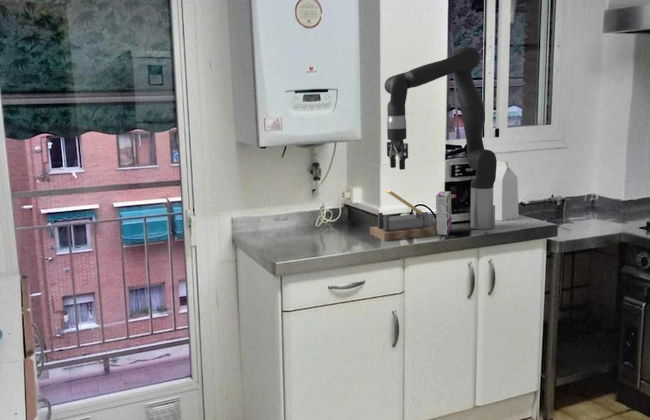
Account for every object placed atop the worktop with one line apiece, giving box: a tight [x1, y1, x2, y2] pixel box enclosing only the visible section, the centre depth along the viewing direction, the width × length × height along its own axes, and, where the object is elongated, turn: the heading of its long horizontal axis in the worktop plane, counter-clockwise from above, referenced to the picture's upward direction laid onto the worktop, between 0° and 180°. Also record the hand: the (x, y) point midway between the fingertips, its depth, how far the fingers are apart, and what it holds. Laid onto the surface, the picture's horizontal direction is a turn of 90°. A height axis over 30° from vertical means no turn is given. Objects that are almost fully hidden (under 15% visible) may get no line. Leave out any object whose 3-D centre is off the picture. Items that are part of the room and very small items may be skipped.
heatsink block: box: [377, 209, 429, 231], centre depth 248 cm, size 19×8×6 cm, turn 110°
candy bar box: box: [435, 191, 452, 236], centre depth 249 cm, size 11×5×16 cm, turn 161°
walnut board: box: [369, 224, 437, 242], centre depth 248 cm, size 23×14×3 cm, turn 110°
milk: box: [493, 160, 520, 221], centre depth 276 cm, size 12×12×26 cm
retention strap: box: [385, 189, 424, 217], centre depth 247 cm, size 19×4×2 cm
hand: (397, 168), depth 243 cm, fingers open, 7 cm apart
